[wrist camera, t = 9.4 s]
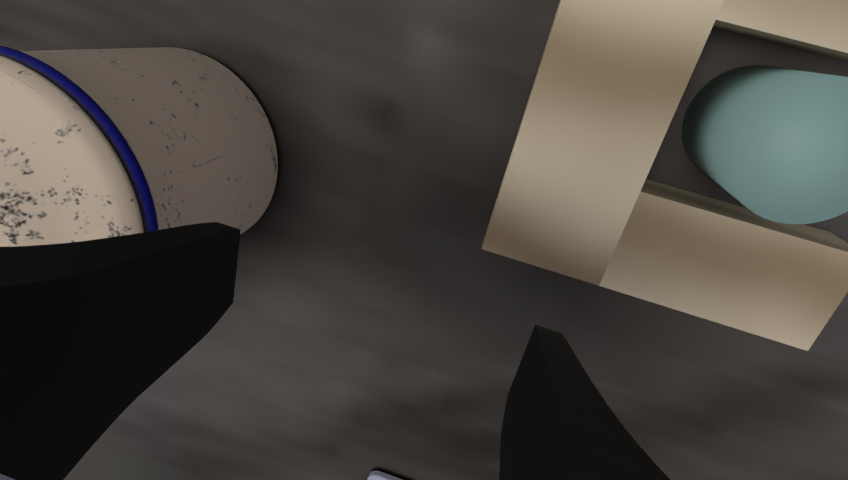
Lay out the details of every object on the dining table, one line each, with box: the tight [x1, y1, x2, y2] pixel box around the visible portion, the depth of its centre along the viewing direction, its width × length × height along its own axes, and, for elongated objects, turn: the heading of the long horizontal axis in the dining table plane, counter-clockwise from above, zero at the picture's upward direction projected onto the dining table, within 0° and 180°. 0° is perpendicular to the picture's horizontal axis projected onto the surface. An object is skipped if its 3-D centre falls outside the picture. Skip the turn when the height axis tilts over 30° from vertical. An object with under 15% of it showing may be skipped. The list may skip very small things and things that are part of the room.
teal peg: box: [682, 65, 848, 224], centre depth 16 cm, size 4×4×5 cm
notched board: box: [481, 0, 848, 351], centre depth 17 cm, size 13×12×2 cm
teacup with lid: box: [0, 46, 278, 247], centre depth 19 cm, size 12×9×12 cm
